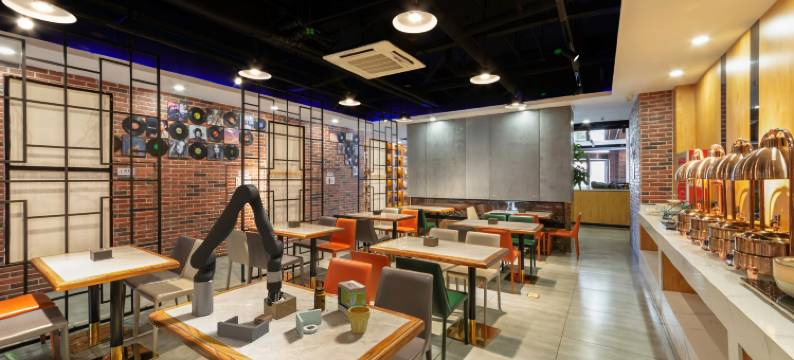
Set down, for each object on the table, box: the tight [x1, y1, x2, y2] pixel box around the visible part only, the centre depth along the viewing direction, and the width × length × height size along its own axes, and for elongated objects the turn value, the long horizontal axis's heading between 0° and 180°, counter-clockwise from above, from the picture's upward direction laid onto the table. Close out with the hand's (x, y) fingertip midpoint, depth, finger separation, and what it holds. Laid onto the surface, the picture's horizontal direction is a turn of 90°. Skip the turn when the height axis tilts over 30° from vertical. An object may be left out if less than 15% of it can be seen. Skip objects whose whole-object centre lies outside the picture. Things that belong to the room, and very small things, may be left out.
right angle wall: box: [295, 309, 322, 339], centre depth 161 cm, size 12×12×8 cm
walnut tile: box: [253, 313, 273, 326], centre depth 170 cm, size 6×6×3 cm
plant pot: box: [347, 306, 371, 334], centre depth 161 cm, size 10×10×10 cm
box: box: [216, 315, 270, 343], centre depth 157 cm, size 19×11×6 cm, turn 73°
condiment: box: [307, 286, 328, 313], centre depth 186 cm, size 7×8×12 cm
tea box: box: [337, 280, 367, 317], centre depth 184 cm, size 15×10×15 cm
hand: (274, 313), depth 178 cm, fingers closed
